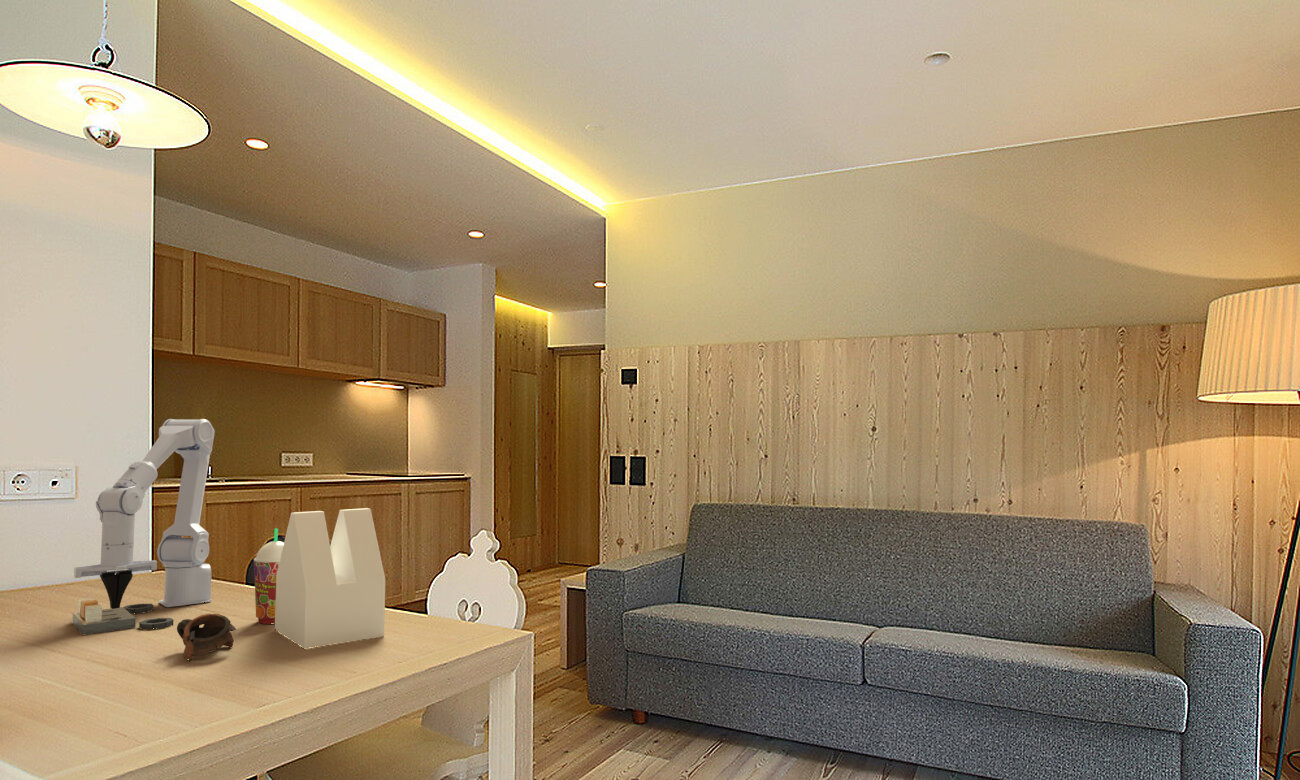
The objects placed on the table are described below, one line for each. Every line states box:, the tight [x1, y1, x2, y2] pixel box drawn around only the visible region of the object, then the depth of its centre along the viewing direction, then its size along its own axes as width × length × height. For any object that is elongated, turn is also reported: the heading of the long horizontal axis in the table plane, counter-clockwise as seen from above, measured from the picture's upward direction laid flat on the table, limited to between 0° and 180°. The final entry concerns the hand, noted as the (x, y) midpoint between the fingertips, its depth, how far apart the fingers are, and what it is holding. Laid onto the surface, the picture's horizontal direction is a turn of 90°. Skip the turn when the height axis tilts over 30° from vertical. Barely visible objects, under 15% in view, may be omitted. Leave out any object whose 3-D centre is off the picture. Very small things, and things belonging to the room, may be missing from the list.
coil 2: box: [138, 617, 174, 630], centre depth 164 cm, size 6×6×1 cm
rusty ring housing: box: [176, 613, 237, 661], centre depth 144 cm, size 12×10×8 cm
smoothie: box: [253, 528, 284, 625], centre depth 170 cm, size 8×8×20 cm
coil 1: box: [122, 603, 154, 615], centre depth 178 cm, size 6×6×1 cm
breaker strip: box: [72, 597, 137, 636], centre depth 165 cm, size 9×14×5 cm, turn 43°
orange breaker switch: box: [81, 599, 99, 618], centre depth 163 cm, size 2×3×3 cm
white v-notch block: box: [274, 507, 386, 648], centre depth 160 cm, size 19×15×25 cm
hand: (115, 607), depth 167 cm, fingers closed
